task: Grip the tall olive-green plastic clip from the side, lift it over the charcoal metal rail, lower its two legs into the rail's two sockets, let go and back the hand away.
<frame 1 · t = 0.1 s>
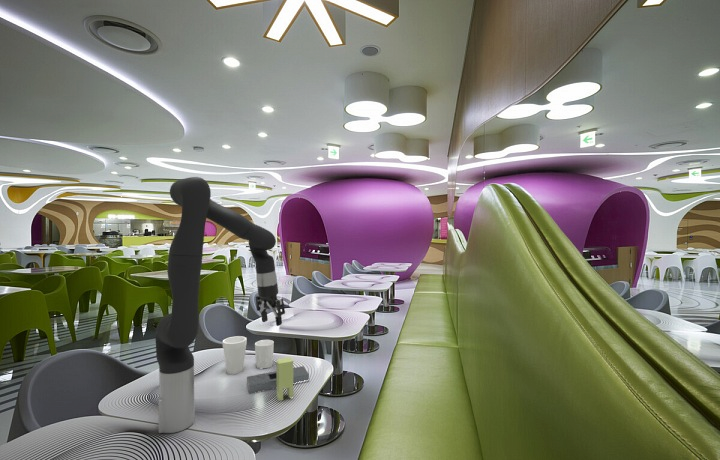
hand: (272, 323, 130), 22 cm above the table, tool pointing down, fingers open, 8 cm apart
white cup: (264, 366, 144), on the table
rail: (278, 383, 127), on the table
foam cup: (234, 371, 138), on the table
clip: (285, 397, 116), on the table
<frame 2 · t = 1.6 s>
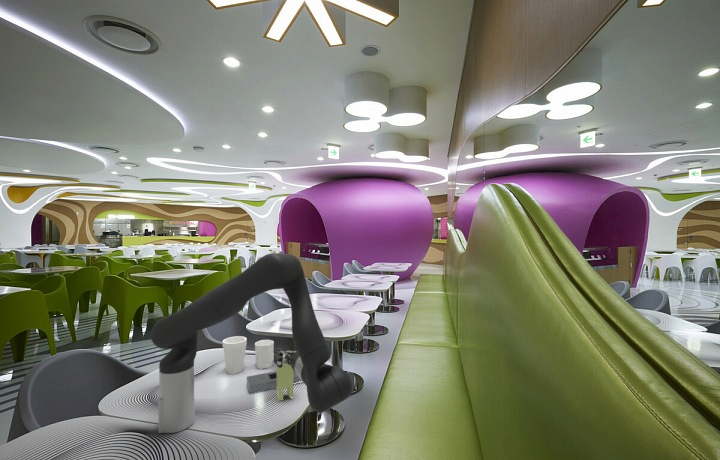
hand: (292, 348, 107), 20 cm above the table, tool horizontal, fingers open, 8 cm apart
nothing on the table moved.
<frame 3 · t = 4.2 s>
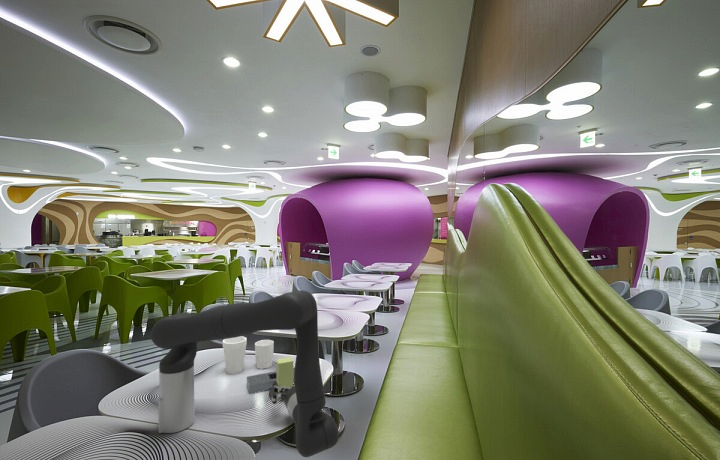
hand: (287, 381, 112), 7 cm above the table, tool horizontal, fingers open, 8 cm apart
nothing on the table moved.
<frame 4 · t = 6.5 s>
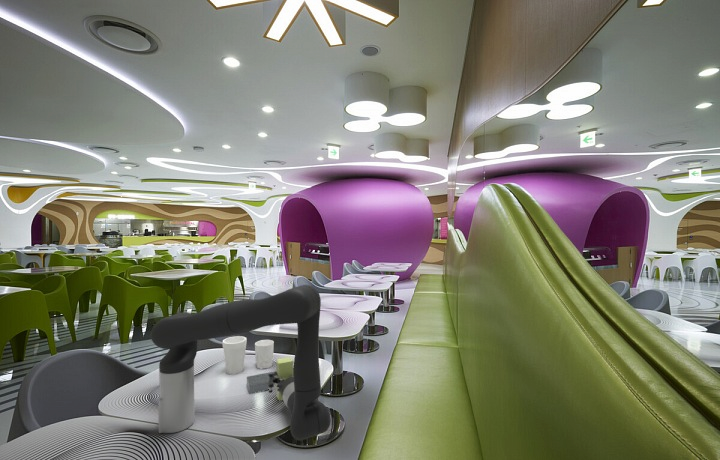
hand: (283, 373, 119), 8 cm above the table, tool horizontal, fingers closed on clip, 5 cm apart
clip: (284, 397, 116), on the table, touching gripper
everything else where it was.
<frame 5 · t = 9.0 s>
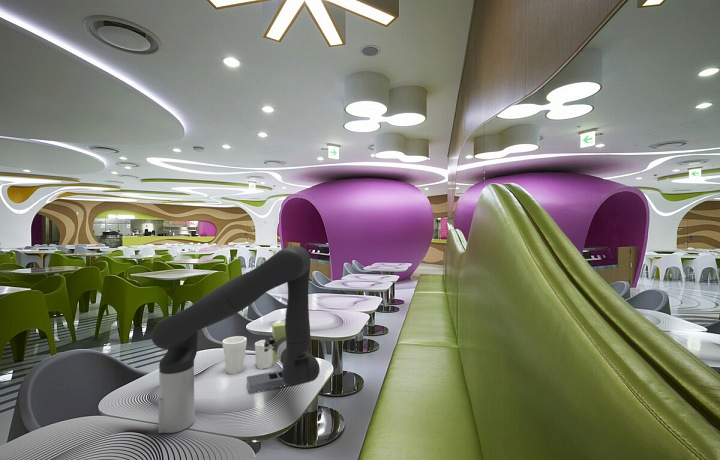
hand: (278, 337, 126), 18 cm above the table, tool horizontal, fingers closed on clip, 5 cm apart
clip: (280, 359, 124), point 10 cm above the table, touching gripper
everything else where it was.
when the fingers open (9 cm above the table, at t = 11.4 s): clip drops 1 cm, resting on rail.
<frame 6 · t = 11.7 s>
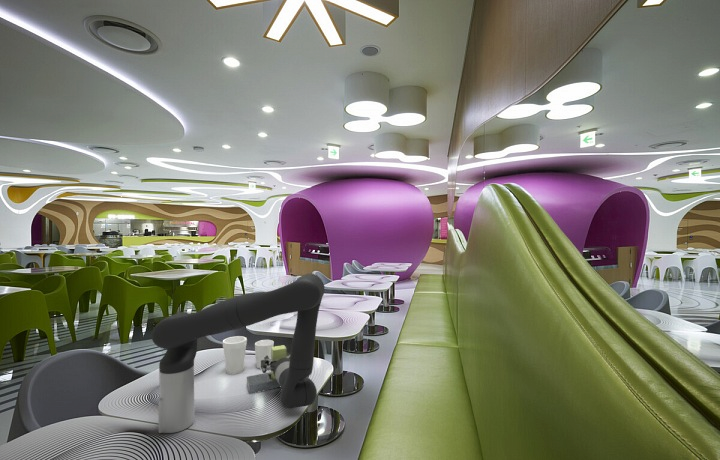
hand: (276, 356, 129), 10 cm above the table, tool horizontal, fingers open, 7 cm apart
clip: (278, 381, 127), point 1 cm above the table, touching rail
everything else where it was.
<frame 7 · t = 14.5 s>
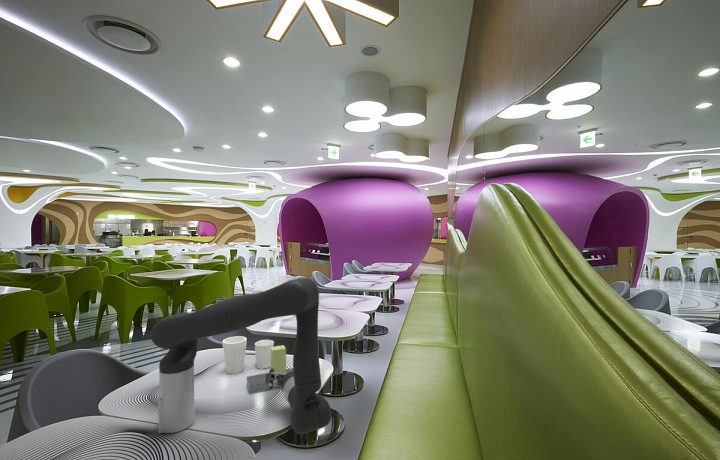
hand: (284, 368, 117), 10 cm above the table, tool horizontal, fingers open, 8 cm apart
nothing on the table moved.
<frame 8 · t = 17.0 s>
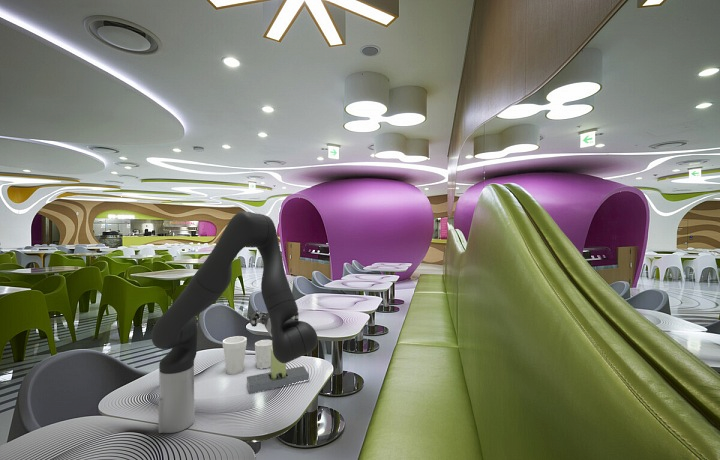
hand: (270, 311, 108), 32 cm above the table, tool horizontal, fingers open, 8 cm apart
nothing on the table moved.
at the end: clip 0.1 cm off-centre on the rail, point 0.5 cm above the rail's base; clip tilted 0°; the gripper is holding nothing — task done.
